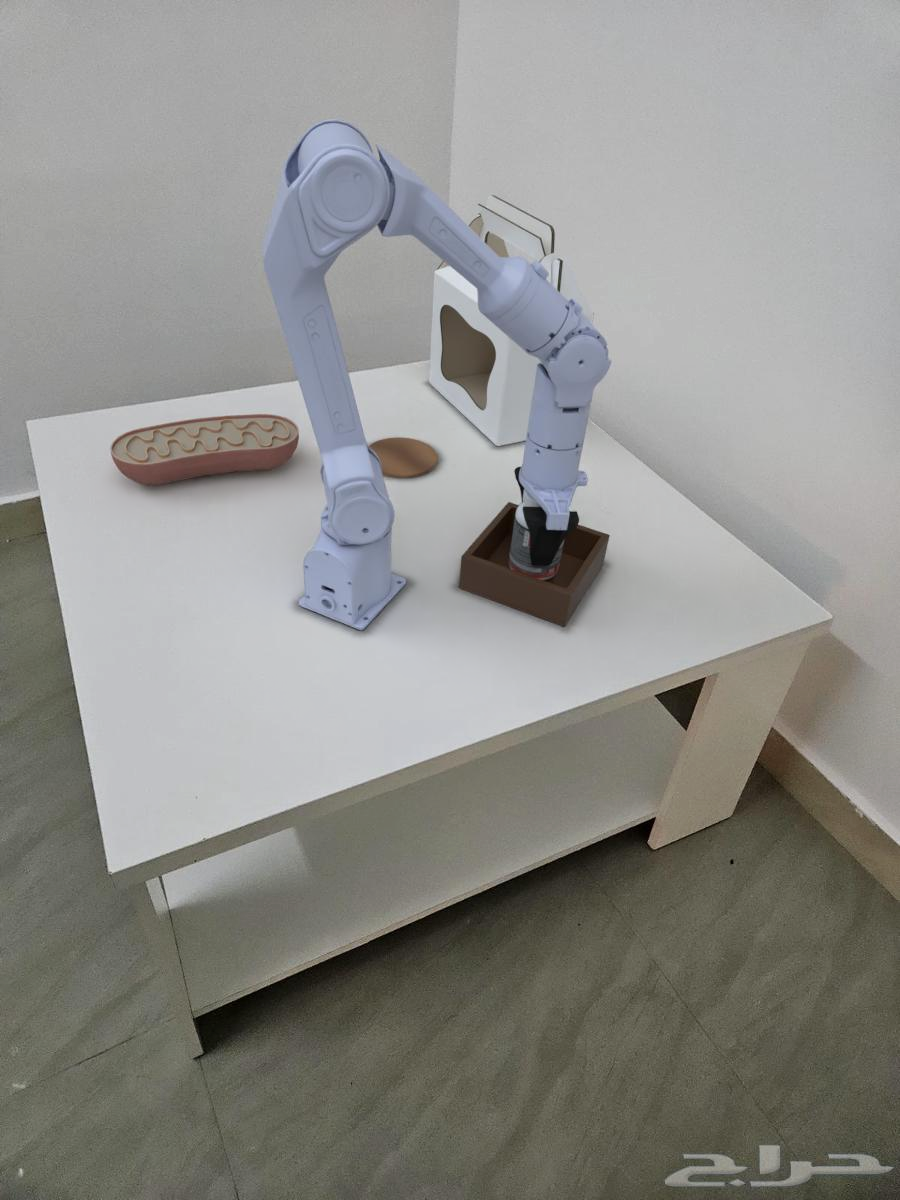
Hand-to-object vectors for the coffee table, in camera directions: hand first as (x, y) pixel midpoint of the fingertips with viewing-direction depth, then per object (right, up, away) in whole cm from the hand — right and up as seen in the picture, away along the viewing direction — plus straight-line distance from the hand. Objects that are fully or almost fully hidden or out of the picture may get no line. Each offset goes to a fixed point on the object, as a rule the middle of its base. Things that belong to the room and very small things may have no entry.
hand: (536, 546), depth 90 cm
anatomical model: (-40, +11, +16) cm, 45 cm away
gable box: (-2, +24, +35) cm, 42 cm away
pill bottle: (0, -2, +2) cm, 3 cm away
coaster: (-16, +13, +21) cm, 30 cm away
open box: (0, -3, +3) cm, 4 cm away
